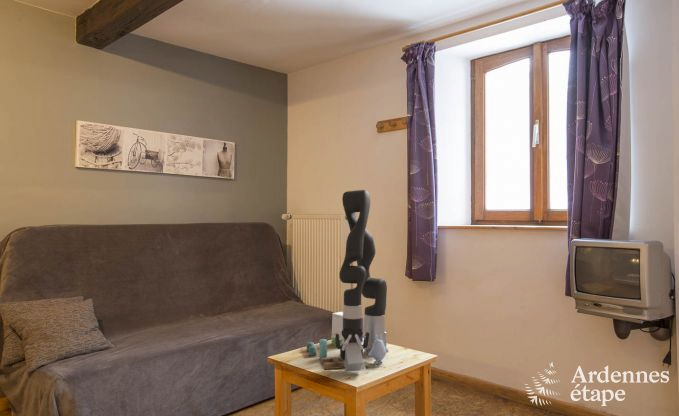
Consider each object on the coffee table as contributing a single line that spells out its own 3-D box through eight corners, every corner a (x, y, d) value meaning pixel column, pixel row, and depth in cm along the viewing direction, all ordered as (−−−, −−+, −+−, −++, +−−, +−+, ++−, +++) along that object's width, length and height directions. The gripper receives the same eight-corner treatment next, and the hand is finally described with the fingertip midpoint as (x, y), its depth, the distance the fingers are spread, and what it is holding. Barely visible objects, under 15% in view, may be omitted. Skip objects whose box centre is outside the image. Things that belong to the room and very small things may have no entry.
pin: (326, 360, 199) (326, 339, 199) (327, 362, 196) (327, 340, 196) (318, 360, 198) (318, 339, 198) (320, 363, 195) (320, 341, 195)
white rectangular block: (355, 343, 192) (358, 335, 188) (360, 370, 184) (363, 362, 180) (341, 343, 191) (343, 335, 187) (345, 371, 182) (348, 363, 178)
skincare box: (330, 346, 220) (331, 313, 220) (341, 343, 225) (341, 311, 225) (343, 350, 214) (343, 315, 214) (353, 347, 219) (353, 313, 219)
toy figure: (383, 359, 201) (383, 331, 201) (392, 363, 196) (393, 334, 196) (363, 363, 195) (363, 334, 195) (373, 367, 190) (373, 338, 190)
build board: (346, 362, 196) (346, 340, 196) (351, 368, 189) (351, 346, 189) (320, 364, 194) (321, 342, 194) (324, 370, 186) (324, 347, 186)
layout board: (317, 351, 212) (317, 340, 212) (323, 359, 200) (323, 348, 200) (300, 352, 211) (300, 341, 211) (304, 360, 198) (304, 349, 198)
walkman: (361, 340, 231) (361, 316, 231) (362, 342, 228) (362, 317, 228) (345, 340, 230) (346, 316, 230) (346, 342, 227) (346, 317, 228)
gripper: (367, 313, 191) (366, 355, 190) (332, 314, 188) (331, 357, 187) (372, 317, 184) (371, 361, 183) (336, 318, 180) (335, 362, 180)
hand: (351, 358), depth 185 cm, fingers closed on white rectangular block, 6 cm apart
